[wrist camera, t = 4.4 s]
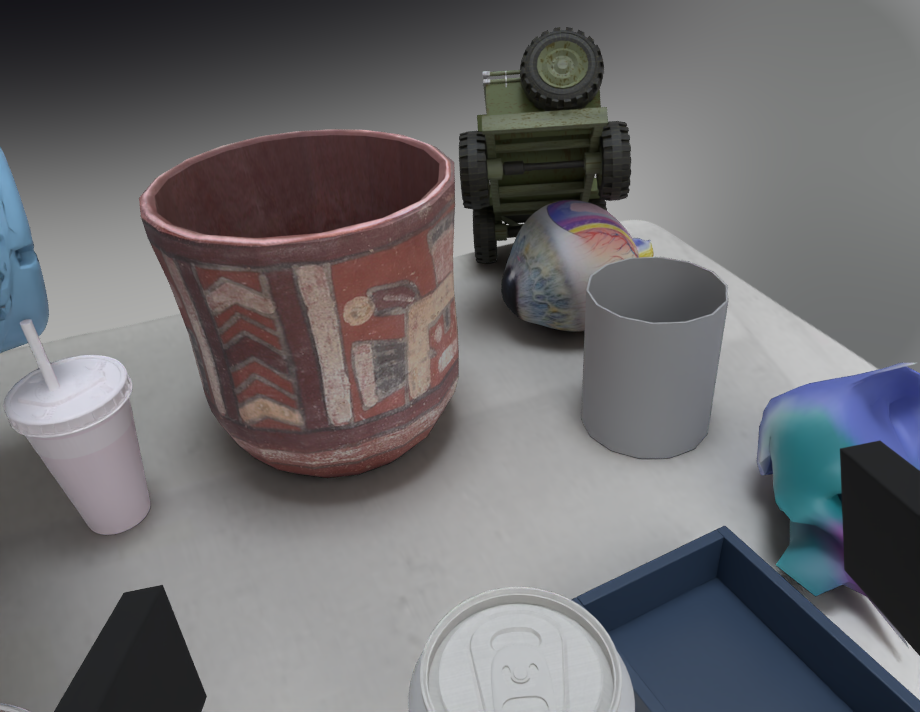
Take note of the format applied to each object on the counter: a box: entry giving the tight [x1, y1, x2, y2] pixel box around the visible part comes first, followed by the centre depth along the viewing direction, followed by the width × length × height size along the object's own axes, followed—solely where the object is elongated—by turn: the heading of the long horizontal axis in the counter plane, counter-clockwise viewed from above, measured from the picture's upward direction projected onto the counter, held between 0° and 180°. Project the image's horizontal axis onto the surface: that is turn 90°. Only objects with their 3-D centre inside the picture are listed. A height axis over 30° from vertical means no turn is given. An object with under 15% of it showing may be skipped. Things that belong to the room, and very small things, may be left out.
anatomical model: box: [501, 200, 653, 332], centre depth 60 cm, size 10×12×10 cm
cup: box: [581, 257, 728, 459], centre depth 49 cm, size 8×8×10 cm
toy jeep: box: [459, 27, 631, 263], centre depth 63 cm, size 12×25×11 cm
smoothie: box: [4, 319, 151, 535], centre depth 43 cm, size 6×6×14 cm
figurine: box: [757, 363, 920, 647], centre depth 42 cm, size 13×12×9 cm
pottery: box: [139, 129, 459, 478], centre depth 48 cm, size 18×18×18 cm
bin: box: [571, 526, 920, 712], centre depth 33 cm, size 10×13×4 cm
